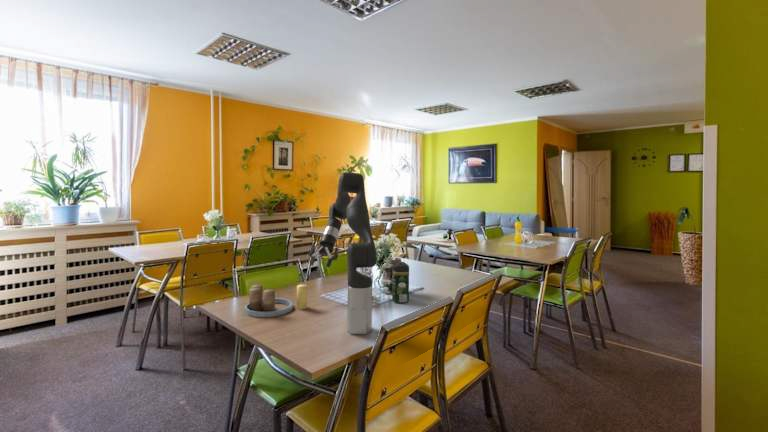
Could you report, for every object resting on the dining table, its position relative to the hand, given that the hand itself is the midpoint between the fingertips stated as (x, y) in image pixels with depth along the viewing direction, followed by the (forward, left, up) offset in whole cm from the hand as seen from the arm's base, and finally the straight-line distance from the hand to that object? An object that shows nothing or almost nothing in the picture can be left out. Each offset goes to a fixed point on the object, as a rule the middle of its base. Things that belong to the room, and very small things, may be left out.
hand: (319, 265), depth 176 cm
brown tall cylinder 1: (-15, +25, -16) cm, 33 cm away
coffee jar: (+1, -39, -17) cm, 42 cm away
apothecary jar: (+15, -35, -17) cm, 42 cm away
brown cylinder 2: (-22, +17, -16) cm, 32 cm away
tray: (-16, +19, -16) cm, 30 cm away
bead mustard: (-13, +5, -16) cm, 22 cm away
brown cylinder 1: (-20, +24, -16) cm, 35 cm away
